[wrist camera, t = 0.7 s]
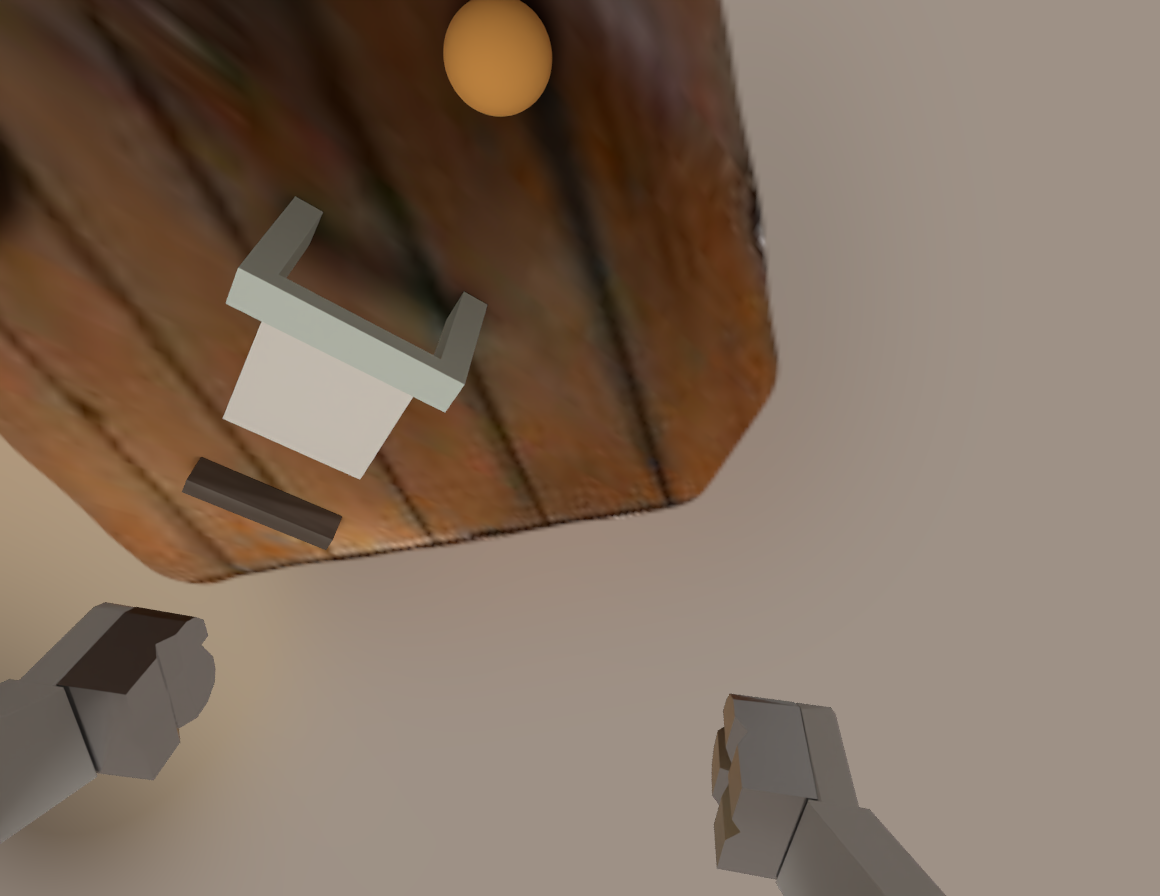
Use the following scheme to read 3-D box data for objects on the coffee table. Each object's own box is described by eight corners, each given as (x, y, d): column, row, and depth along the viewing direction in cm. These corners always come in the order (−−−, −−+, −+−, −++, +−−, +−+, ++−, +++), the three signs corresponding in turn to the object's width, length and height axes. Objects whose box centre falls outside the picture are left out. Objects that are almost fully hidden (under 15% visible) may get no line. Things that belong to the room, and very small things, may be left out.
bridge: (295, 196, 50) (238, 267, 43) (487, 304, 55) (464, 384, 48) (282, 229, 52) (225, 303, 45) (469, 331, 57) (445, 412, 50)
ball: (484, -43, 40) (464, -18, 36) (576, 26, 42) (568, 57, 38) (437, 57, 44) (414, 90, 39) (524, 116, 46) (511, 153, 41)
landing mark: (264, 315, 57) (263, 316, 57) (416, 391, 61) (415, 392, 61) (223, 416, 65) (222, 418, 65) (360, 478, 69) (359, 479, 69)
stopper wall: (201, 457, 69) (186, 479, 67) (341, 516, 73) (332, 539, 71) (196, 469, 70) (181, 491, 68) (335, 527, 75) (325, 550, 72)
